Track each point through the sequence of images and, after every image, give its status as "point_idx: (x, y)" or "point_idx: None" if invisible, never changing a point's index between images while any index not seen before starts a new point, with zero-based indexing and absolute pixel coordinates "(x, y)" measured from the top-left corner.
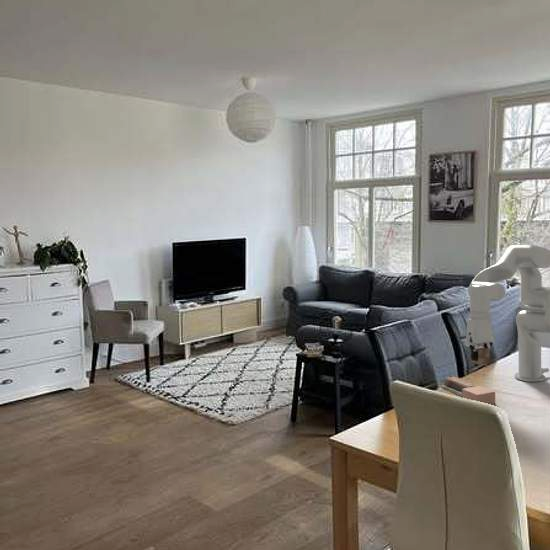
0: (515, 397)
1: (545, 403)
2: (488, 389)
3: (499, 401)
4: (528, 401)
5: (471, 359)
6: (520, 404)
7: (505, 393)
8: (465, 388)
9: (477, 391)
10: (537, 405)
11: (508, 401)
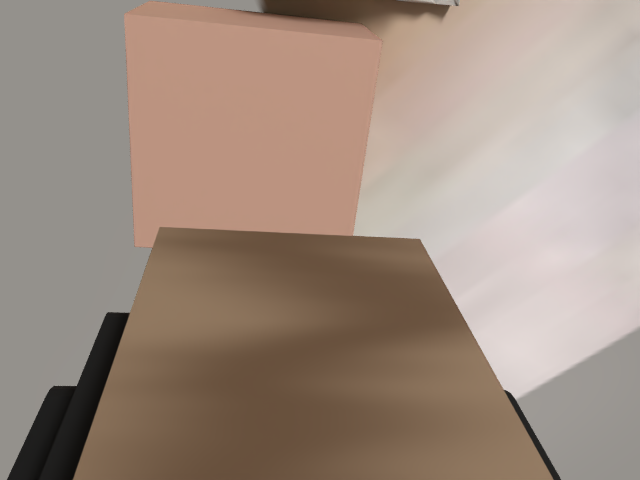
0: (574, 188)
1: (588, 356)
2: (349, 187)
3: (403, 190)
4: (553, 288)
5: (150, 268)
6: (459, 302)
7: (617, 74)
8: (170, 27)
9: (211, 175)
10: (520, 358)
11: (454, 223)
